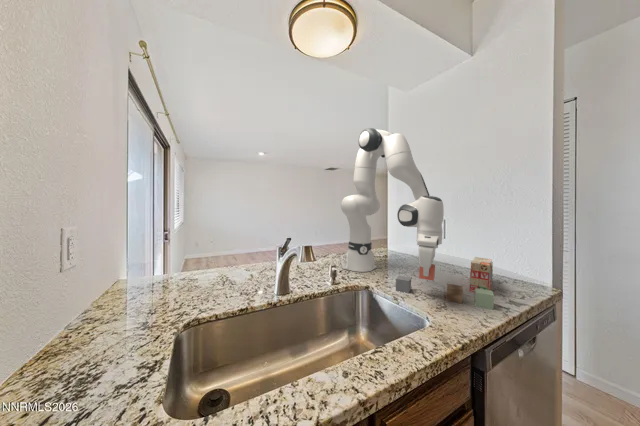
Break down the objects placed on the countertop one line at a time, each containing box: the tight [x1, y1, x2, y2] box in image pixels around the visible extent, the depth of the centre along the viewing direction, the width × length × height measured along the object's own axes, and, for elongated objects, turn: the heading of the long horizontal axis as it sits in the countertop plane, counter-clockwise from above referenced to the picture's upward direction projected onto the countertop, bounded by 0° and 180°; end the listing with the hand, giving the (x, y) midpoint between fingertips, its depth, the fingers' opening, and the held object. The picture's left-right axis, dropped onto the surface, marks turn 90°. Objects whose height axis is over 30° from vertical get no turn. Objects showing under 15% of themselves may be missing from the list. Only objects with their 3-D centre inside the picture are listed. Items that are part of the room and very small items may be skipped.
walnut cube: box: [445, 283, 464, 305], centre depth 88 cm, size 5×5×5 cm
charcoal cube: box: [395, 275, 412, 294], centre depth 97 cm, size 5×5×5 cm
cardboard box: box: [468, 256, 494, 294], centre depth 102 cm, size 21×6×12 cm, turn 141°
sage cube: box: [474, 288, 495, 310], centre depth 83 cm, size 5×5×5 cm
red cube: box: [418, 263, 436, 282], centre depth 92 cm, size 5×5×5 cm
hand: (426, 273), depth 92 cm, fingers closed on red cube, 5 cm apart
